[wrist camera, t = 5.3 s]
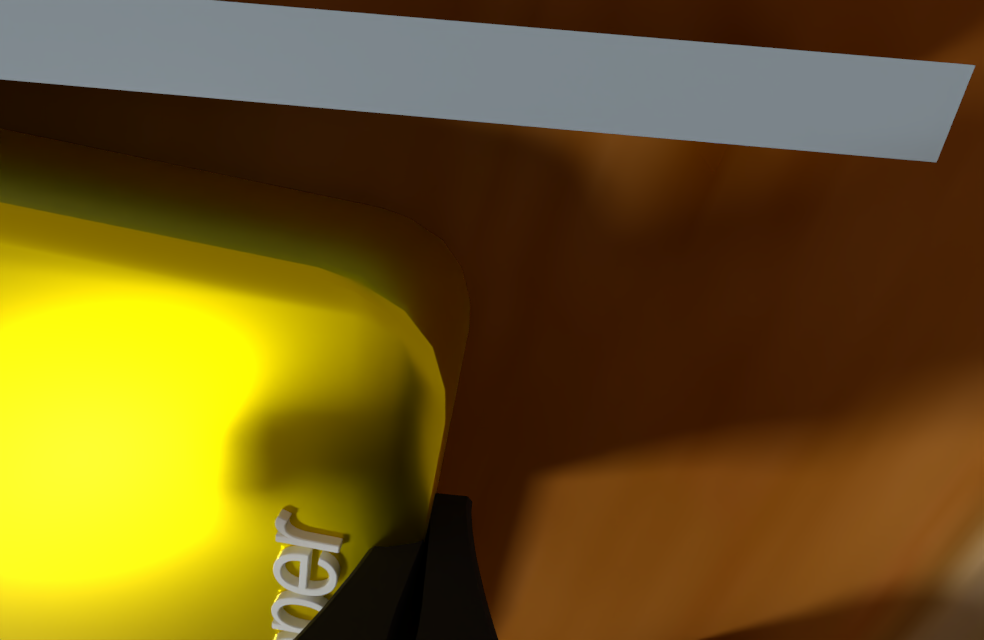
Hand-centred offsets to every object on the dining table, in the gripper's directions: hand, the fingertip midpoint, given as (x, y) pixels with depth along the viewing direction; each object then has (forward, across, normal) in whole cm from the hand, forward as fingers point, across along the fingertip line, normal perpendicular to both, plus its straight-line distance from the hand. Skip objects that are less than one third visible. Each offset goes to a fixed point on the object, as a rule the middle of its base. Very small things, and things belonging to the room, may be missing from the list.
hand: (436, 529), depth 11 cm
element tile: (+3, +8, +1) cm, 8 cm away
